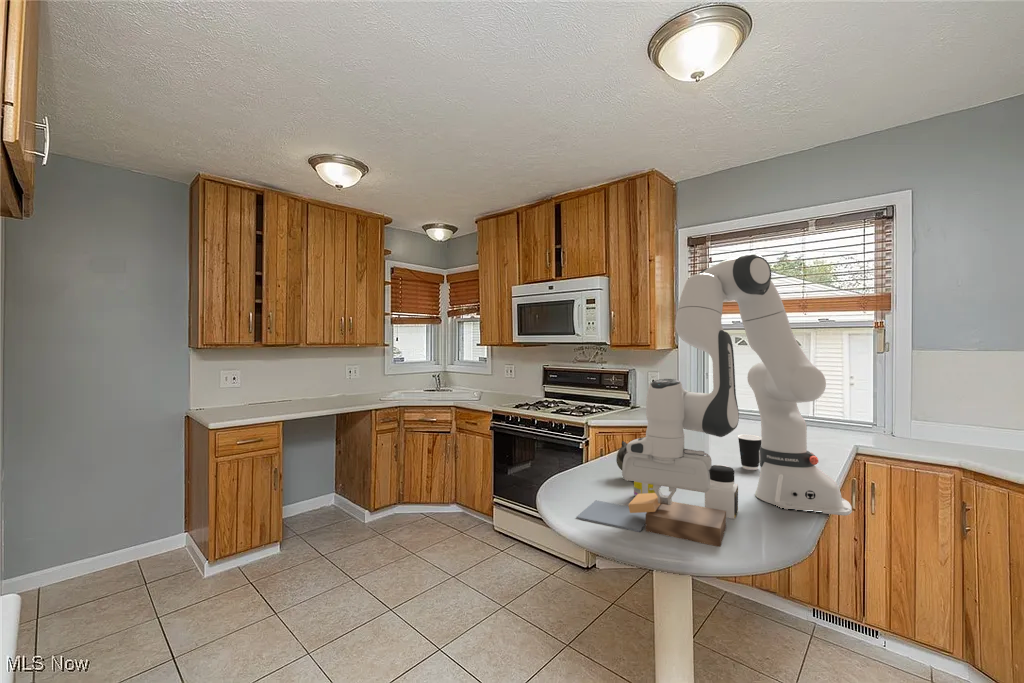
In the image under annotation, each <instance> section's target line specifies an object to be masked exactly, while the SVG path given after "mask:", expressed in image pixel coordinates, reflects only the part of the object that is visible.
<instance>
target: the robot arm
mask: <svg viewBox="0 0 1024 683" xmlns="http://www.w3.org/2000/svg"><path fill="white" fill-rule="evenodd" d="M731 301H735V302H736V303H737V304H738V311H739V314H740V318H741V322H742V325H743V328H744V331H745V335H746V338H747V341H748V344H749V347H750V348H751V350H753V351H754V352H755V353H756V354H757V355H758V357H759V359H760V360H761V361H760V362H758V363H755V364H754V365H752V367H751V368H750V369H749V370H748V373H747V377H746V378H747V383H748V386H749V387H750V388H751V390H752V391H753V393H754V398H755V400H756V403H757V405H756V406H757V408H758V409H757V410H758V412H759V417H760V433H761V434H760V437H761V446H760V450H759V467H760V469H759V470H760V471H759V477H758V483H757V487H756V490H755V493H754V495H755V497H756V498H758V500H761V501H763V502H765V503H769V504H771V505H774V506H775V505H776V506H775V507H777V506H778V508H779V507H780V508H779V509H782V508H784V509H783V510H788V509H796V510H795V511H797V510H813V511H822V512H823V513H822V514H825V515H827V514H828V515H834V516H835V515H836V516H850V515H851V514H852V513H853V509H852V505H851V503H850V502H849V501H848V500H847V499H845V498H843V496H842V494H841V490H840V486H839V485H838V483H837V481H835V479H834V478H832V477H831V476H829V475H828V474H827V473H826V472H824V471H823V470H822V469H820V468H819V467H818V466H816V465H817V464H818V463H819V458H818V456H816V455H815V454H814V453H813V452H810V451H809V450H808V449H807V448H808V446H807V445H808V438H807V437H808V436H807V435H808V434H807V433H808V429H807V427H808V425H807V422H806V420H805V418H804V417H803V416H802V415H801V413H800V412H801V411H799V407H798V404H799V403H809V402H814V401H816V400H819V398H820V397H821V396H823V394H824V393H825V391H826V387H827V380H826V377H825V376H824V373H823V372H822V371H821V370H820V369H819V368H817V367H816V366H815V365H814V364H813V363H812V362H811V361H810V359H809V358H808V357H807V355H806V354H805V352H804V351H803V349H802V347H801V346H800V345H799V342H798V341H797V340H796V337H795V335H794V333H793V330H792V327H791V323H790V320H789V318H788V315H787V312H786V309H785V305H784V303H783V300H782V298H781V296H780V293H779V291H778V289H777V288H776V285H775V284H774V282H773V281H772V269H771V266H770V263H769V262H768V261H767V260H766V259H765V258H764V257H763V256H761V255H760V254H758V253H745V254H741V255H739V256H736V257H733V258H729V259H724V260H722V261H720V262H718V263H717V264H714V265H712V266H710V267H707V268H704V269H702V270H701V271H700V272H698V273H696V274H693V275H692V276H690V277H688V279H687V280H686V282H685V284H684V286H683V289H682V291H681V295H680V297H679V301H678V305H677V312H676V316H675V331H676V333H677V336H678V337H679V338H680V340H682V341H683V342H685V343H686V344H687V345H689V346H691V347H693V348H695V349H698V350H700V351H701V352H704V353H707V354H708V355H709V356H710V358H711V361H712V379H713V380H712V383H713V386H712V387H713V388H712V391H711V392H710V393H709V392H708V393H706V392H696V391H695V392H694V391H688V390H687V389H685V388H684V387H683V384H682V382H681V381H680V380H678V379H676V378H675V379H674V378H663V379H662V378H661V379H656V380H653V381H652V382H650V383H649V385H648V389H647V393H646V403H645V417H646V420H647V426H646V431H645V437H639V438H635V439H633V440H631V441H629V442H628V443H627V447H626V448H627V451H628V453H627V454H626V455H625V456H624V459H623V466H622V470H621V475H622V476H621V477H622V479H623V478H624V479H625V480H624V479H623V480H624V481H626V480H628V481H627V482H629V481H634V482H641V483H647V484H653V489H654V491H655V493H656V495H657V496H658V503H659V504H665V505H670V506H671V504H672V502H673V501H672V498H673V496H674V494H675V492H676V491H677V490H678V489H679V490H685V491H692V492H698V493H699V492H700V493H704V494H705V492H707V491H708V490H709V489H710V473H709V470H710V469H711V466H713V464H712V457H711V456H710V455H709V454H708V453H706V452H705V451H704V450H695V449H688V448H685V432H684V430H686V431H691V432H697V433H698V432H699V433H704V434H707V435H711V436H714V437H719V438H723V437H725V436H727V435H729V434H731V433H732V432H733V431H734V430H736V429H737V427H738V425H739V420H740V417H739V416H740V413H739V407H738V406H739V405H738V400H737V394H736V393H737V392H736V390H737V389H736V377H735V376H736V371H735V354H734V345H733V341H732V338H731V335H730V333H728V332H727V331H725V330H724V328H723V324H722V318H723V317H722V315H723V308H724V306H723V305H724V303H725V302H731ZM634 482H633V483H634ZM661 487H666V488H667V487H668V492H670V493H669V495H664V494H662V491H661V490H660V488H661Z"/></svg>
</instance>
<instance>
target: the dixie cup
mask: <svg viewBox="0 0 1024 683" xmlns="http://www.w3.org/2000/svg"><path fill="white" fill-rule="evenodd" d="M737 438H738V446H739V454H740V463H741V464H740V465H741V466H742V467H741V468H742V469H744V470H749V471H757V470H758V468H759V467H760V463H759V450H760V446H761V436H758V435H753V434H738V435H737Z"/></svg>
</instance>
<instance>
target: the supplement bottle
mask: <svg viewBox="0 0 1024 683" xmlns="http://www.w3.org/2000/svg"><path fill="white" fill-rule="evenodd" d="M644 493H655V491H654V489H653V484H647V483H641V482H633V496H635V497H636V495H637V494H644Z"/></svg>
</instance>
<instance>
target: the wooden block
mask: <svg viewBox="0 0 1024 683" xmlns="http://www.w3.org/2000/svg"><path fill="white" fill-rule="evenodd" d="M726 530H727V518H726V511H724V510H718V509H712V508H707V507H705V506H702V505H701V506H700V505H695V504H694V505H693V504H689V503H683V502H677V501H672V504H671V506H670V505H665V504H660V505H659V507H658V508H657V510H656V511H655V512H647V513H646V525H645V532H646V533H647V532H648V533H652V534H656V535H661V536H666V537H672V538H675V539H680V540H685V541H688V542H689V541H690V542H695V543H699V544H704V545H709V546H714V547H719V548H721V546H722V544H723V543H722V542H723V540H724V536H725V532H726Z"/></svg>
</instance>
